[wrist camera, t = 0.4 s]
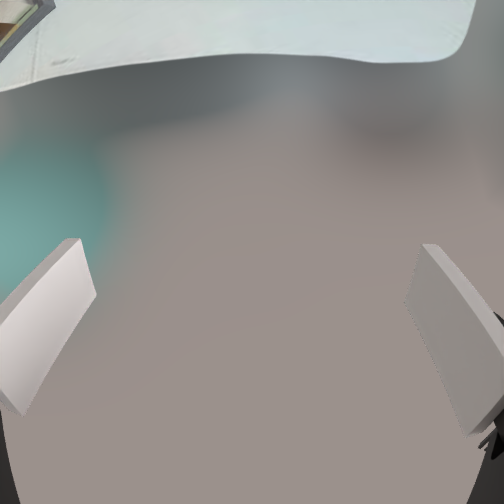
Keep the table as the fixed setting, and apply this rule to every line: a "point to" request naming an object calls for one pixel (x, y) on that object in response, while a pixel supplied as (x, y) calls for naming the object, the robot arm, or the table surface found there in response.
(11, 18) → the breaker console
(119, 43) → the table surface
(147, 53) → the table surface
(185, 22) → the table surface
